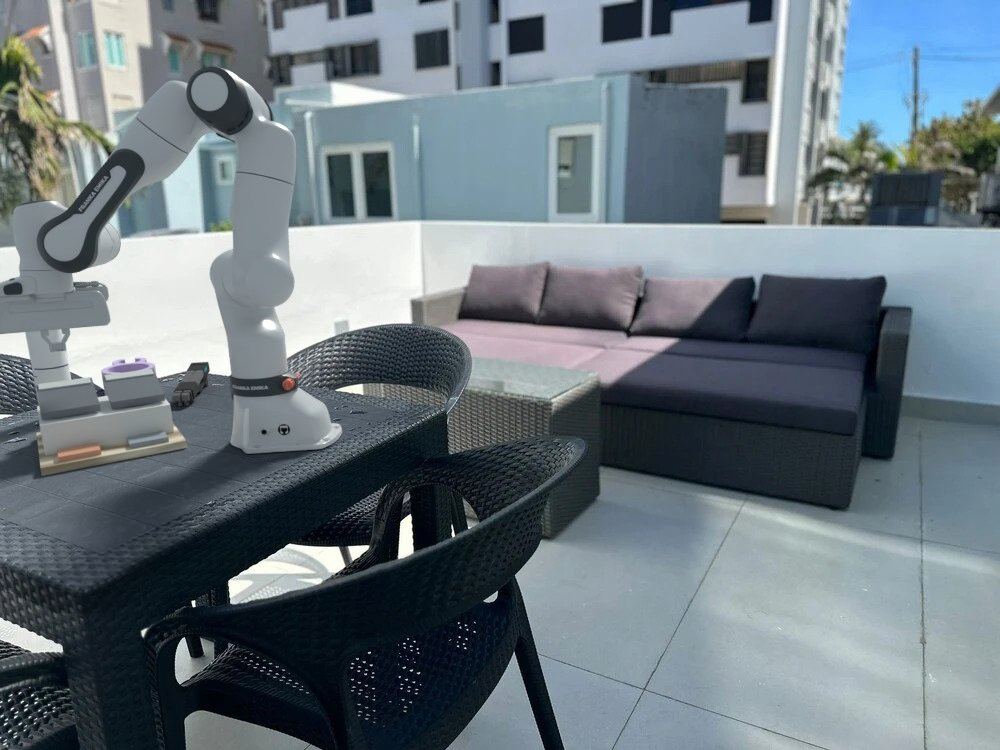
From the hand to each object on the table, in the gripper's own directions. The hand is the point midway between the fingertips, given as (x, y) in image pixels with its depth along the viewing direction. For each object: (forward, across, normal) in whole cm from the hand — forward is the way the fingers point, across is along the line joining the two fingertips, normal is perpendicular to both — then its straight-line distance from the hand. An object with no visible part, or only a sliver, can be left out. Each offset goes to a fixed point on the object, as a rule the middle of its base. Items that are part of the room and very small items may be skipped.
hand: (58, 351), depth 144 cm
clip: (+19, -16, -36) cm, 44 cm away
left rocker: (+9, 0, +5) cm, 10 cm away
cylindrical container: (+19, +1, -19) cm, 27 cm away
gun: (+19, -28, -21) cm, 40 cm away
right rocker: (+9, -12, +5) cm, 16 cm away
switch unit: (+19, -7, +8) cm, 22 cm away
